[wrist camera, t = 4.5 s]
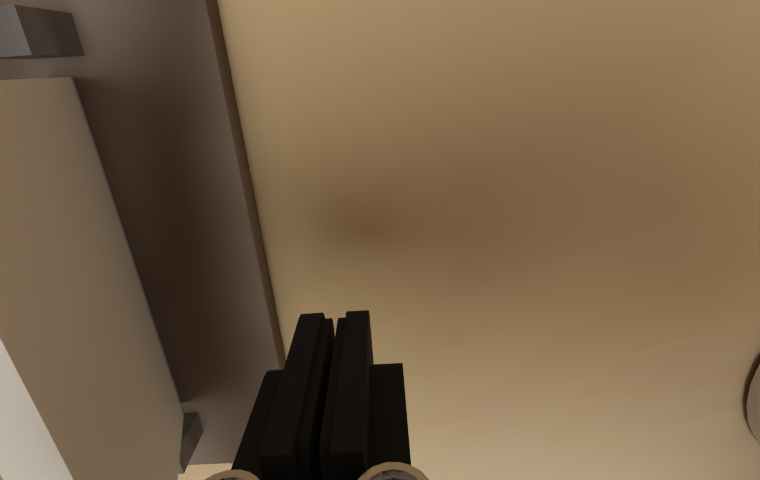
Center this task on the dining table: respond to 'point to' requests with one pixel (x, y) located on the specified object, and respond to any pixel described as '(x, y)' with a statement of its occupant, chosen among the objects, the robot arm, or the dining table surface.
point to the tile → (73, 308)
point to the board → (170, 188)
